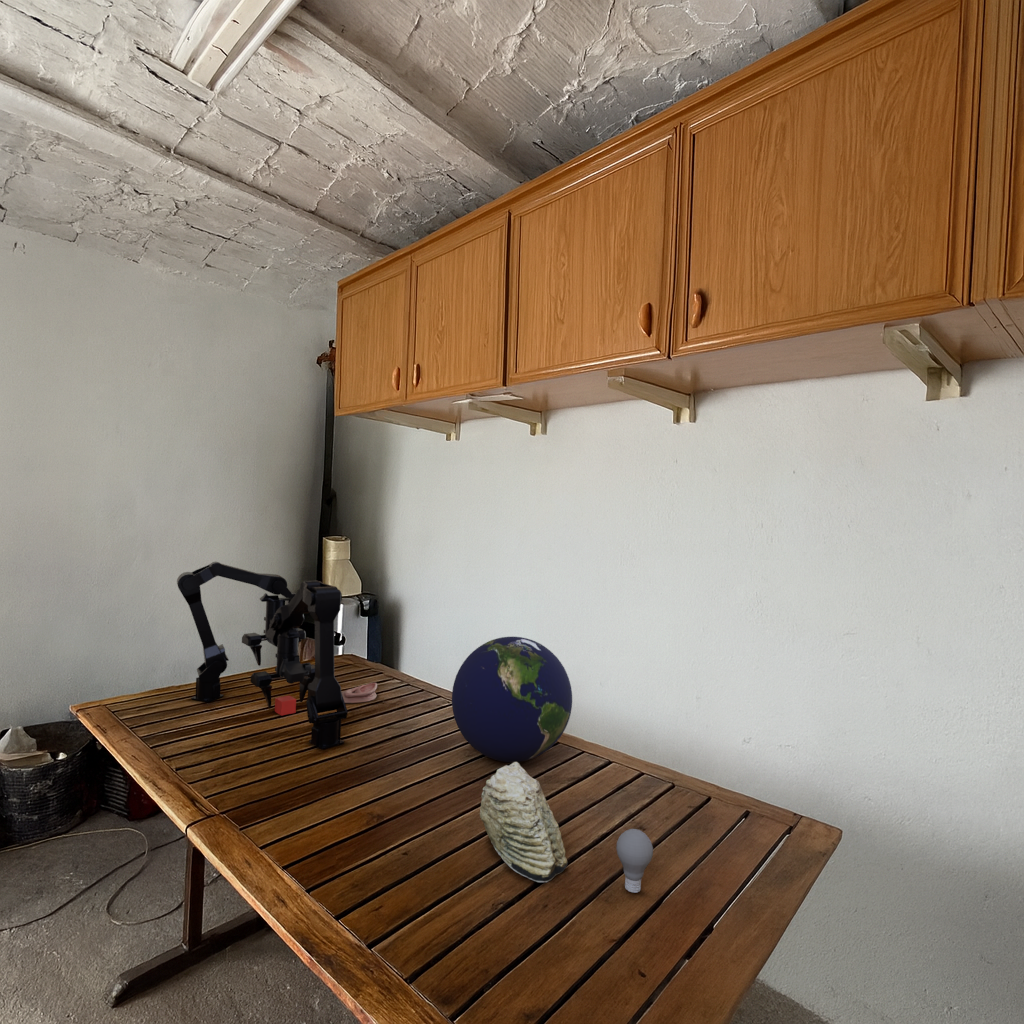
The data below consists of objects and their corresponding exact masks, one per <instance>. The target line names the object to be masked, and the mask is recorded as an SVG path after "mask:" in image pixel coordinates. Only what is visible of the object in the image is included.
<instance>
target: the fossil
mask: <svg viewBox="0 0 1024 1024" xmlns="http://www.w3.org/2000/svg"><path fill="white" fill-rule="evenodd" d="M479 819H480V820H481V822H482V823H483V827H484V829H485V832H486V833H487V836H488V838H489V840H490V842H491V844H492V845H493V848H494V850H495V852H496V853H497V854H498V856H500V858H501V859H502V861H503V862H504V863H505V864H506V865H507V867H509V868H510V869H511V870H513V871H514V873H517V874H519V875H520V876H522V877H525V878H527V879H528V880H531V881H533V882H536V883H548V882H550V881H552V880H553V879H554V878H555V877H556V876H557V875H560V874H561V873H563V872H564V871H565V870H566V868H567V867H568V866H569V863H568V859H567V856H566V848H565V847H564V841H563V838H562V834H561V831H560V826H559V824H558V822H557V821H556V818H555V817H554V813H553V811H552V810H551V807H550V805H549V803H548V802H547V799H546V796H545V794H544V790H543V789H542V786H541V784H540V781H539V780H537V779H535V778H533V777H532V776H531V775H529V773H528V772H527V771H526V769H524V768H523V766H521V764H520V762H511V763H510V764H509V765H507V764H506V765H504V766H502V767H500V768H498V769H497V770H496V772H495V773H494V774H492V775H491V776H490V778H489V779H487V780H486V782H485V786H483V788H482V792H481V802H480V808H479Z"/></svg>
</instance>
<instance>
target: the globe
mask: <svg viewBox="0 0 1024 1024" xmlns="http://www.w3.org/2000/svg"><path fill="white" fill-rule="evenodd" d="M568 675H569V674H568V673H567V671H566V669H565V667H564V665H563V663H562V662H561V661H560V659H559V658H558V657H557V656H556V655H555V654H554V652H553V651H551V650H550V649H549V648H547V647H546V646H545V645H543V644H542V643H539V642H538V641H536V640H533V639H531V638H527V637H522V636H502V637H497V638H494V639H491V640H488V641H487V642H484V643H483V644H481V645H479V646H478V647H476V648H475V649H474V650H473V651H471V653H470V654H469V655H468V656H467V657H466V658H465V660H464V661H463V662H462V664H461V665H460V667H459V669H458V671H457V672H456V676H455V679H454V681H453V686H452V691H451V707H452V712H453V714H452V715H453V717H454V721H455V723H456V726H457V728H458V730H459V732H460V734H461V735H462V737H463V738H464V740H465V741H466V742H467V743H468V744H469V746H470V747H472V748H473V749H474V750H476V751H477V752H478V753H480V754H481V755H483V756H484V757H487V758H489V759H492V760H495V761H498V762H504V763H514V762H518V763H522V762H526V761H530V760H532V759H535V758H537V757H540V756H541V755H543V754H544V753H546V752H548V750H550V749H551V748H552V747H554V745H556V743H557V742H558V741H559V739H560V738H561V737H562V736H563V734H564V732H565V730H566V728H567V726H568V724H569V721H570V718H571V714H572V709H573V691H572V684H571V681H570V678H569V676H568Z"/></svg>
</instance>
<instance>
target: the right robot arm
mask: <svg viewBox="0 0 1024 1024" xmlns="http://www.w3.org/2000/svg"><path fill="white" fill-rule="evenodd" d="M295 593H296V594H295V596H294V597H293V598H292V600H291V601H290V602H289V603H288V604H287V605H286V604H285V605H284V606H281V607H280V608H279V609H278V610H277V611H276V613H275V614H274V617H273V619H272V621H271V623H270V625H269V626H270V628H269V629H268V631H267V633H266V639H267V640H266V641H267V642H268V644H271V645H272V646H274V647H275V648H276V653H275V658H276V667H274V672H275V673H269V672H268V671H266V670H264V671H257V672H255V671H254V672H253V673H252V674H251V675H250V683H251V684H252V685H253V686H255V687H256V688H258V689H260V690H261V692H262V694H263V697H264V699H265V703H266V705H267V708H269V709H271V708H272V688H273V685H271V684H272V681H279V680H286V682H287V683H288V684H292V685H293V684H295V683H299V691H298V692H299V702H300V703H303V702H304V700H305V698H306V701H305V705H306V714H307V719H308V723H309V724H312V727H311V730H310V731H311V732H310V733H311V735H310V739H309V740H308V743H309V744H310V745H313V746H314V747H316V748H318V749H320V750H327V749H329V748H333V747H336V746H340V745H343V744H344V743H345V741H344V740H343V739H341V737H342V735H341V733H342V720H346V719H347V718H348V714H349V712H348V708H347V705H346V703H345V702H344V699H343V696H342V693H341V692H342V686H341V685H340V683H339V682H338V680H337V678H336V677H335V620H336V618H337V616H338V615H339V613H340V612H341V606H342V605H341V603H342V601H343V595H342V591H341V590H340V589H339V588H338V587H337V586H334V585H330V584H327V583H323V582H322V581H320V580H304V581H302V582H300V586H299V589H298V590H297V592H295ZM307 608H308V611H309V613H308V614H309V615H310V616H311V618H312V619H313V621H314V664H312V663H311V662H304V663H301V661H300V659H301V657H300V655H299V643H298V638H300V634H299V633H298V632H297V630H296V629H294V628H301V626H302V625H303V624H304V621H305V613H304V612H305V611H306V609H307ZM291 629H292V630H291ZM306 695H307V697H306ZM332 711H333V712H332ZM322 713H323V714H322Z"/></svg>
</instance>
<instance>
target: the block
mask: <svg viewBox="0 0 1024 1024" xmlns="http://www.w3.org/2000/svg"><path fill="white" fill-rule="evenodd" d="M296 710H297V698H295V697H294V696H292V695H283V696H278V697H274V712H275V713H276V714H278V715H280V716H287V715H291V714H296V713H297V712H296Z"/></svg>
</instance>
